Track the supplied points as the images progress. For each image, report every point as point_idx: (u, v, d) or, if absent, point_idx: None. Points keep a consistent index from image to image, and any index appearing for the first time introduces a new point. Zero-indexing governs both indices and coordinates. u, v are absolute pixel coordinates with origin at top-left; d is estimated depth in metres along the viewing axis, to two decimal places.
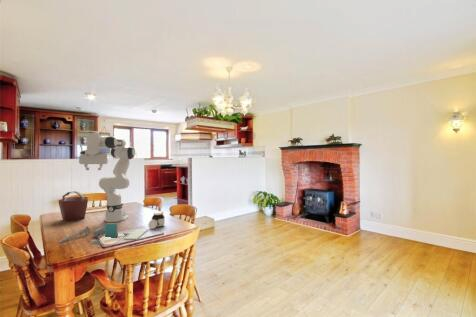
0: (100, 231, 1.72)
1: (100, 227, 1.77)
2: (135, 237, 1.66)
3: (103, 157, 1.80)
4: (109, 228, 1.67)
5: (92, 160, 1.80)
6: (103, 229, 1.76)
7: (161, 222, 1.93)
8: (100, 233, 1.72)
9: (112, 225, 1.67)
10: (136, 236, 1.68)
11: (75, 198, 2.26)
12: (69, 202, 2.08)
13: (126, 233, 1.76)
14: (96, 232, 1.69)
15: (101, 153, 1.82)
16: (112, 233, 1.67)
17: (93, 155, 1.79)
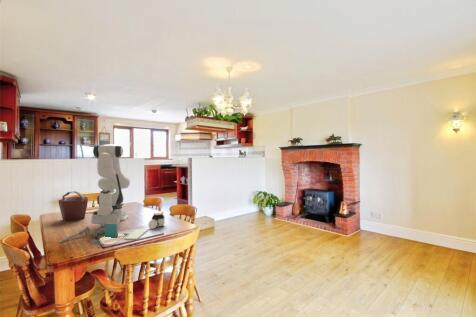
0: (100, 231, 1.72)
1: (100, 227, 1.77)
2: (135, 237, 1.66)
3: (115, 217, 1.80)
4: (109, 228, 1.67)
5: (104, 220, 1.80)
6: (103, 229, 1.76)
7: (161, 222, 1.93)
8: (100, 233, 1.72)
9: (112, 225, 1.67)
10: (136, 236, 1.68)
11: (75, 198, 2.26)
12: (69, 202, 2.08)
13: (126, 233, 1.76)
14: (96, 232, 1.69)
15: (113, 213, 1.81)
16: (112, 233, 1.67)
17: (105, 215, 1.79)
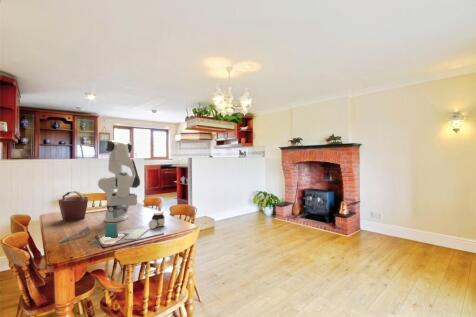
0: (119, 211, 1.76)
1: (118, 208, 1.80)
2: (135, 237, 1.66)
3: (133, 199, 1.84)
4: (109, 228, 1.67)
5: (122, 201, 1.83)
6: (121, 210, 1.79)
7: (161, 222, 1.93)
8: (119, 213, 1.76)
9: (112, 225, 1.67)
10: (136, 236, 1.68)
11: (75, 198, 2.26)
12: (69, 202, 2.08)
13: (126, 233, 1.76)
14: (116, 212, 1.72)
15: (131, 194, 1.85)
16: (112, 233, 1.67)
17: (124, 197, 1.83)
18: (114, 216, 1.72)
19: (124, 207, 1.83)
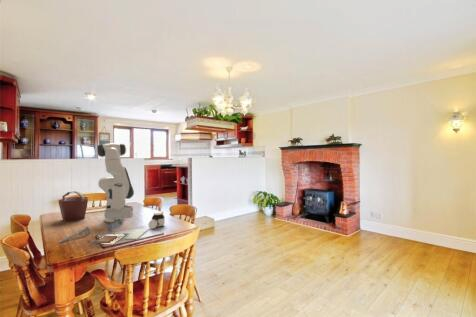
0: (114, 225, 1.68)
1: (113, 221, 1.73)
2: (135, 237, 1.66)
3: (129, 211, 1.76)
4: None
5: (118, 214, 1.76)
6: (117, 223, 1.72)
7: (161, 222, 1.93)
8: (114, 227, 1.68)
9: None
10: (136, 236, 1.68)
11: (75, 198, 2.26)
12: (69, 202, 2.08)
13: (126, 233, 1.76)
14: (110, 226, 1.65)
15: (127, 206, 1.77)
16: None
17: (119, 209, 1.75)
18: (109, 230, 1.65)
19: (119, 220, 1.76)
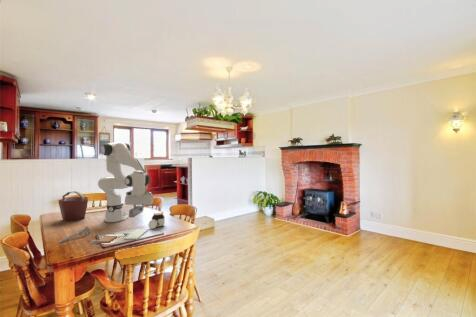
0: (135, 211, 1.69)
1: (134, 207, 1.73)
2: (135, 237, 1.66)
3: (149, 197, 1.76)
4: None
5: (138, 201, 1.76)
6: (137, 209, 1.72)
7: (161, 222, 1.93)
8: (135, 213, 1.69)
9: None
10: (136, 236, 1.68)
11: (75, 198, 2.26)
12: (69, 202, 2.08)
13: (126, 233, 1.76)
14: (132, 211, 1.65)
15: (147, 193, 1.78)
16: None
17: (139, 196, 1.76)
18: (130, 216, 1.65)
19: (140, 206, 1.76)
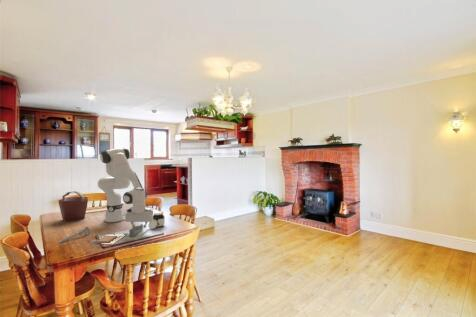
0: (135, 230, 1.69)
1: None
2: (135, 237, 1.66)
3: (149, 215, 1.77)
4: None
5: (138, 218, 1.77)
6: (138, 228, 1.73)
7: (161, 222, 1.93)
8: (135, 232, 1.69)
9: None
10: (136, 236, 1.68)
11: (75, 198, 2.26)
12: (69, 202, 2.08)
13: (126, 233, 1.76)
14: (132, 231, 1.66)
15: (147, 210, 1.78)
16: None
17: (139, 213, 1.76)
18: (131, 236, 1.66)
19: (140, 225, 1.77)
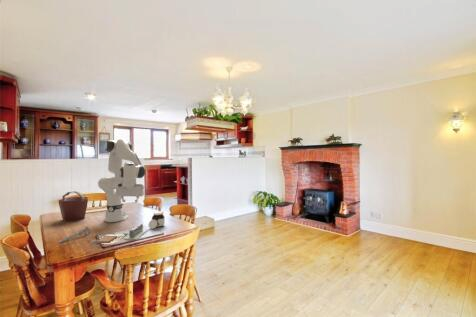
0: (135, 230, 1.69)
1: None
2: (135, 237, 1.66)
3: (140, 189, 1.78)
4: None
5: (129, 192, 1.78)
6: (138, 228, 1.73)
7: (161, 222, 1.93)
8: (135, 232, 1.69)
9: None
10: (136, 236, 1.68)
11: (75, 198, 2.26)
12: (69, 202, 2.08)
13: (126, 233, 1.76)
14: (132, 231, 1.66)
15: (138, 185, 1.79)
16: None
17: (130, 187, 1.77)
18: (131, 236, 1.66)
19: (140, 225, 1.77)
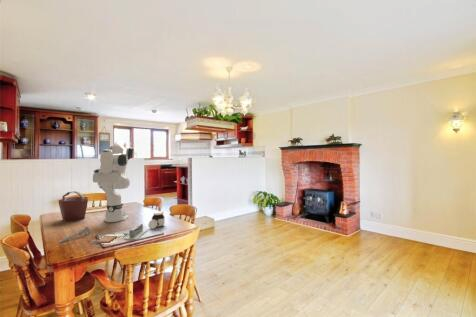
0: (135, 230, 1.69)
1: None
2: (135, 237, 1.66)
3: (116, 175, 1.81)
4: None
5: (106, 178, 1.81)
6: (138, 228, 1.73)
7: (161, 222, 1.93)
8: (135, 232, 1.69)
9: None
10: (136, 236, 1.68)
11: (75, 198, 2.26)
12: (69, 202, 2.08)
13: (126, 233, 1.76)
14: (132, 231, 1.66)
15: (114, 171, 1.83)
16: None
17: (107, 173, 1.80)
18: (131, 236, 1.66)
19: (140, 225, 1.77)
